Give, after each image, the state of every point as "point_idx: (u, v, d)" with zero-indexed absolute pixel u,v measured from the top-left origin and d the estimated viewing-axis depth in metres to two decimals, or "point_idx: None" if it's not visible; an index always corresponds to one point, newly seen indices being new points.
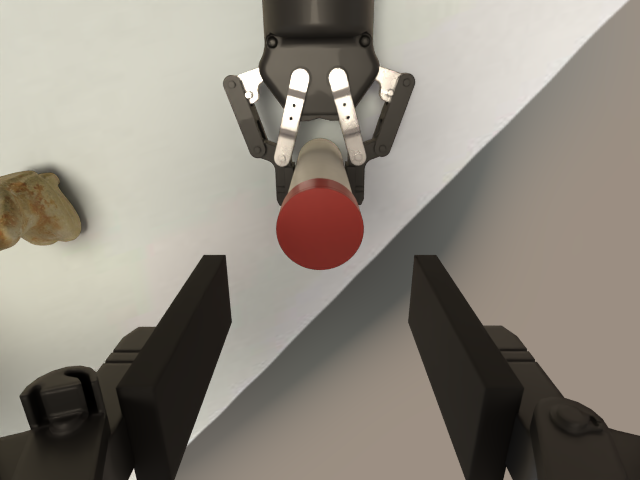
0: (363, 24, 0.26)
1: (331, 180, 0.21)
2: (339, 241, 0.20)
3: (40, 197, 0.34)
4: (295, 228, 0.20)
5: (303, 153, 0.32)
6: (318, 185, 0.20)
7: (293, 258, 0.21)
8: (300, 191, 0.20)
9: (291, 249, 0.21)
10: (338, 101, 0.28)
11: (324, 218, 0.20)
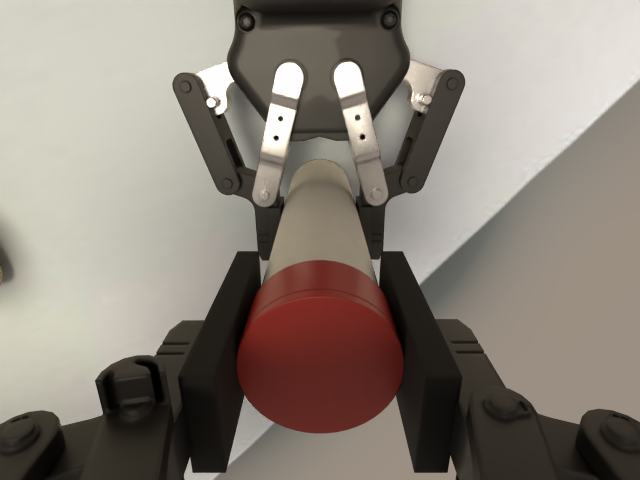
0: None
1: (341, 265, 0.11)
2: (357, 387, 0.11)
3: None
4: (272, 366, 0.10)
5: (296, 185, 0.22)
6: (317, 285, 0.10)
7: (270, 415, 0.11)
8: (281, 300, 0.10)
9: (266, 401, 0.11)
10: (348, 112, 0.19)
11: (329, 349, 0.10)
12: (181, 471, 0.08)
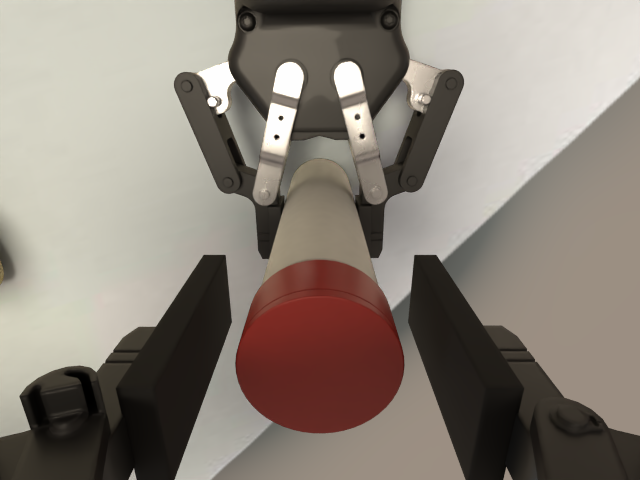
0: None
1: (269, 280, 0.12)
2: (359, 352, 0.10)
3: None
4: (292, 399, 0.11)
5: (296, 184, 0.23)
6: (248, 321, 0.11)
7: (340, 427, 0.11)
8: None
9: (323, 422, 0.11)
10: (348, 112, 0.19)
11: (303, 353, 0.10)
12: None
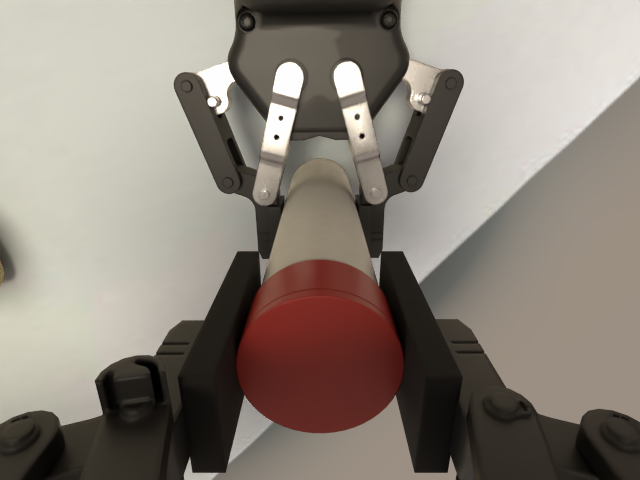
0: None
1: (269, 280, 0.12)
2: (359, 352, 0.10)
3: None
4: (292, 399, 0.11)
5: (296, 184, 0.23)
6: (248, 321, 0.11)
7: (340, 427, 0.11)
8: None
9: (323, 422, 0.11)
10: (347, 112, 0.19)
11: (303, 353, 0.10)
12: (181, 472, 0.08)
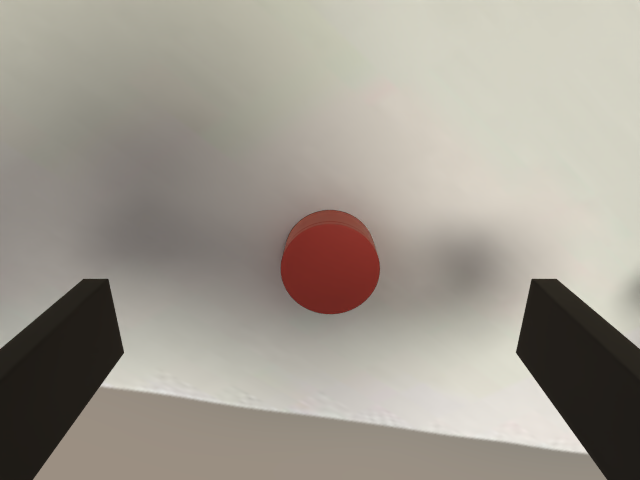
0: None
1: (298, 222, 0.19)
2: (353, 259, 0.18)
3: None
4: (313, 290, 0.18)
5: None
6: (288, 243, 0.18)
7: (342, 310, 0.18)
8: (281, 264, 0.18)
9: (332, 306, 0.18)
10: None
11: (320, 260, 0.18)
12: None
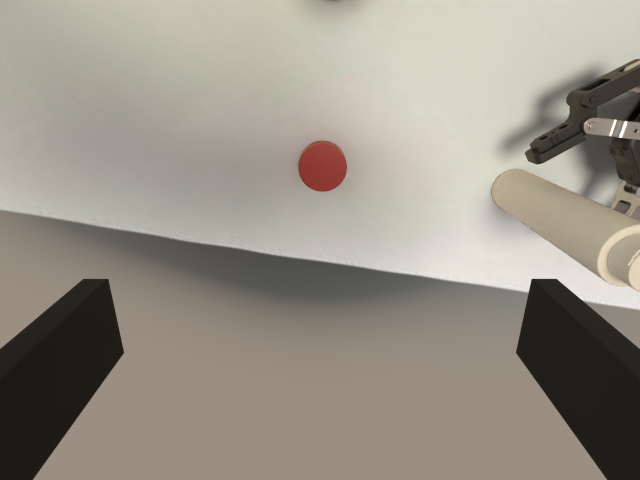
0: None
1: (307, 147, 0.38)
2: (333, 162, 0.37)
3: None
4: (314, 178, 0.37)
5: None
6: (302, 155, 0.37)
7: (328, 189, 0.38)
8: (299, 165, 0.37)
9: (323, 187, 0.38)
10: None
11: (318, 162, 0.37)
12: None
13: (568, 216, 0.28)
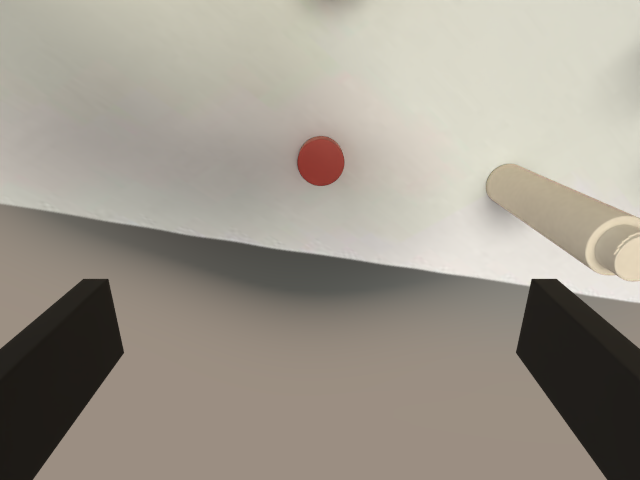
0: None
1: (305, 142, 0.39)
2: (331, 157, 0.38)
3: None
4: (313, 173, 0.38)
5: None
6: (300, 150, 0.38)
7: (326, 183, 0.39)
8: None
9: (322, 181, 0.39)
10: None
11: (316, 157, 0.38)
12: None
13: (558, 209, 0.29)
